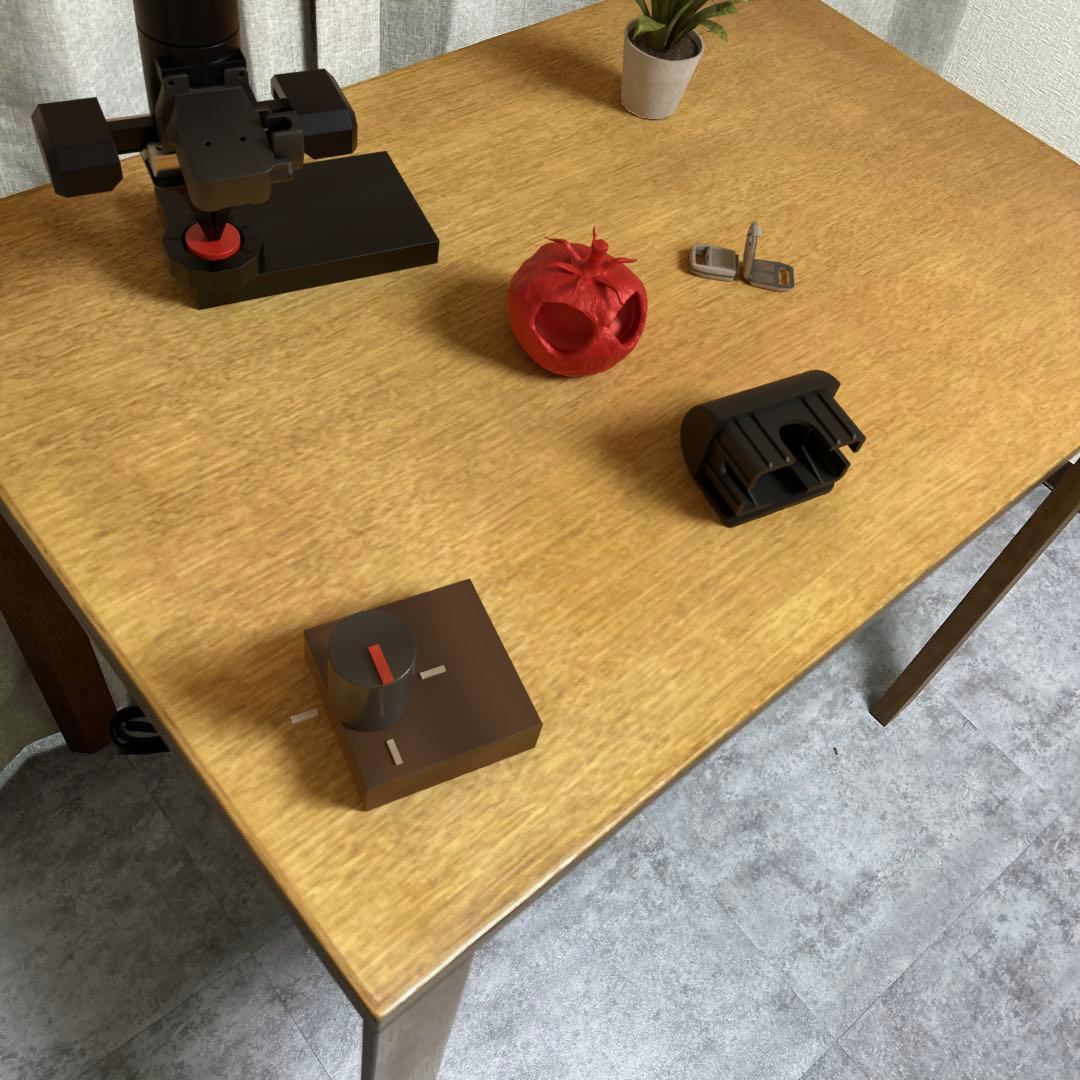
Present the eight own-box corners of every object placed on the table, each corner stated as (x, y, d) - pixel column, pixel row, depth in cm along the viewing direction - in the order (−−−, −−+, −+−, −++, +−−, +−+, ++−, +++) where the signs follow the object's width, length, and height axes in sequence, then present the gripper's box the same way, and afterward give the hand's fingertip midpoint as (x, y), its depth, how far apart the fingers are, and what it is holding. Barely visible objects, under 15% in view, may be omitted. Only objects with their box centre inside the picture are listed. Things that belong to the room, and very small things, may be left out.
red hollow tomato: (487, 299, 82) (503, 196, 75) (614, 291, 85) (641, 191, 77) (519, 399, 77) (539, 299, 69) (653, 387, 80) (686, 289, 72)
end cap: (782, 416, 80) (815, 349, 74) (839, 489, 77) (878, 425, 71) (667, 454, 76) (692, 386, 71) (721, 532, 73) (753, 468, 67)
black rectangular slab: (184, 323, 76) (177, 279, 73) (140, 213, 82) (132, 168, 79) (442, 271, 83) (447, 229, 80) (385, 173, 89) (387, 130, 86)
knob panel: (324, 828, 58) (323, 805, 55) (264, 669, 62) (261, 640, 60) (535, 747, 62) (544, 723, 59) (465, 604, 67) (470, 576, 64)
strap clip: (687, 275, 87) (702, 233, 84) (688, 250, 89) (702, 207, 86) (792, 294, 88) (811, 253, 84) (791, 269, 90) (809, 227, 86)
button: (196, 278, 75) (193, 258, 74) (181, 244, 77) (178, 224, 76) (248, 269, 77) (246, 249, 75) (233, 235, 78) (231, 215, 77)
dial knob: (316, 672, 59) (315, 622, 55) (393, 647, 61) (398, 596, 56) (344, 743, 57) (345, 696, 53) (423, 715, 59) (430, 667, 54)
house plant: (691, 182, 94) (750, -4, 81) (546, 121, 96) (580, -70, 83) (744, 103, 102) (805, -78, 89) (609, 48, 104) (650, -137, 91)
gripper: (45, 127, 56) (99, 347, 68) (393, 81, 63) (383, 289, 75) (2, 6, 61) (59, 232, 74) (327, -24, 68) (328, 187, 80)
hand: (212, 237), depth 76 cm, fingers closed, pressing on button
